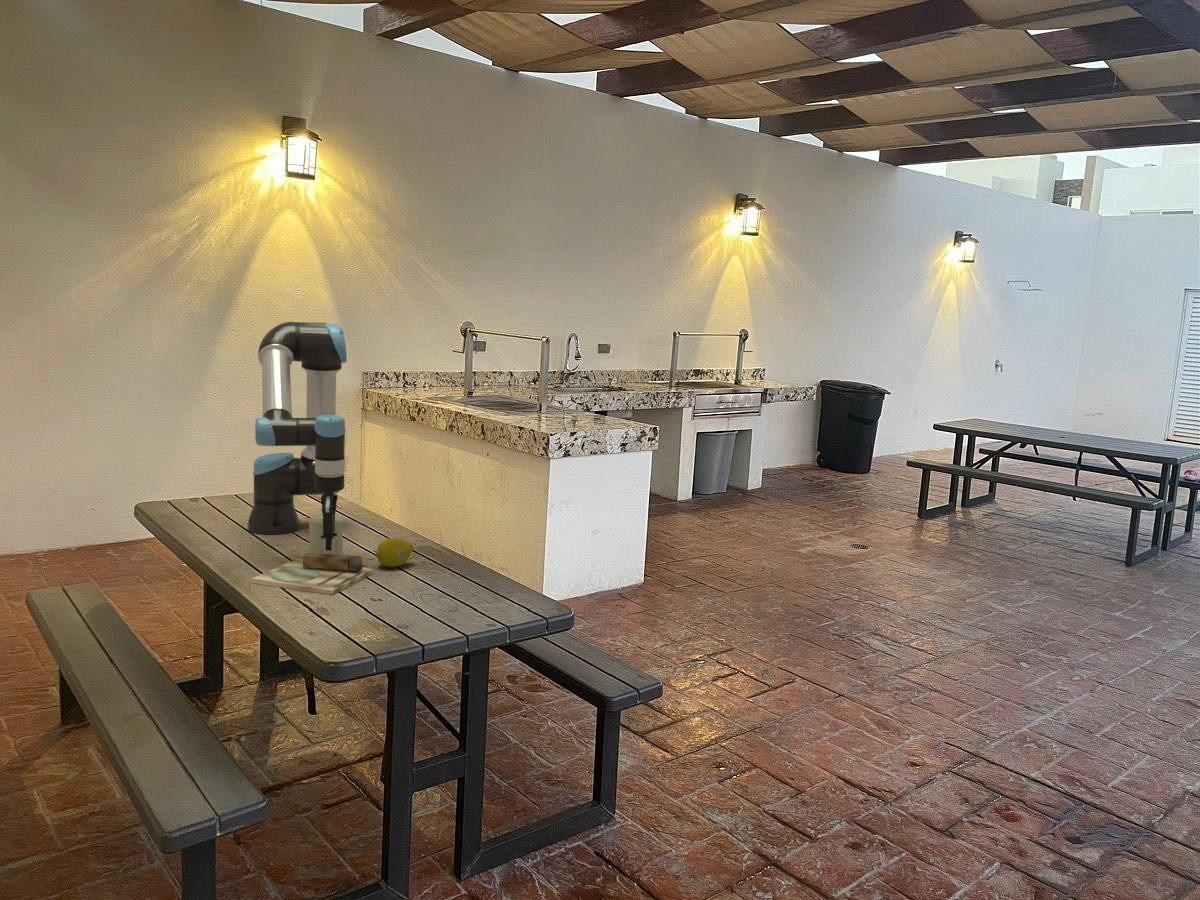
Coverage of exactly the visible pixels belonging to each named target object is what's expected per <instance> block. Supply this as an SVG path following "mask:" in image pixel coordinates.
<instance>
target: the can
mask: <svg viewBox="0 0 1200 900" xmlns="http://www.w3.org/2000/svg"><path fill="white" fill-rule="evenodd" d="M308 523H309V524H308V532H309V533H308V534H309V537H308V539H309V540H308V541H309V542H308V543H309V544H308V545H309V547H308V548H309V549H308V551H309V552H308V553H316V554H323V538H321V535H323V515H317V516H313V517H309V519H308ZM343 525H344V519H343V517H341V516H337V515H335V532H334V533H337V536H334V555H344V554H343V533H344V532H343V530H344V529H343V528H344V527H343Z"/></svg>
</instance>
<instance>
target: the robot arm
mask: <svg viewBox="0 0 1200 900" xmlns="http://www.w3.org/2000/svg"><path fill="white" fill-rule="evenodd" d="M257 352H258V353H257V354H258V356H257V357H258V362H259V364H260V365H261V371H262V374H261V378H262V379H261V381H262V382H261V383H262V385H261V386H262V389H261V390H262V394H261V395H262V396H261V397H262V417H257V418H255V420H254V421H255V422H254V423H255V424H254V427H255V429H254V430H255V431H254V432H255V435H254V436H255V437H254V439H255V440H254V441H255V444H256V445H258V446H262V447H263V446H265V447H288V446H289V447H295V446H300V447H304V449H302V451H301V453H300V457H295V456H294V454H293V453H292V452H274V453H269V454H265V455H262V456H259V457H257V458H256V459H255V460H254V461H253V472H252V475H253V505H252V509H251V511H250V515H249V517H248V521H247V531H249V532H250V533H254V534H258V535H260V534H261V535H282V534H283V535H284V534H288V533H293V532H295V531H298V530H299V529H300V519H299V517H298V514H297V511H296V507H295V503H294V496H318V495H319V496H321V497H320V504H321V513H322V516H323V535H321V538H323V554H332V555H334V536H337V533H334V532H335V516H336V512H337V503H338V498H339V497H338V493H340V491H342V490H344V489H345V474H346V473H345V470H346V459H345V444H346V443H345V442H346V424H345V423H346V420H345V418H344V417H343V416H341V415H337V414H336V409H337V408H336V405H337V374H338V373H339V372H340V371H341V370H342V368H343V367H342V365H343V364H345V363H347V362H348V359H347V358H348V355H347V346H346V339H345V334H344V329H343V327H342V326H341V325H340V324H337V323H329V322H308V321H307V322H304V321H302V322H300V321H297V322H295V321H286V322H281V323H280V324H278V325H276V326H274V327H272V328H271V329H270V330H269V331H268V332H267V333H266V334H265V335H264V337H263V338H262V340H261V342H260V343H259V346H258V351H257ZM293 362H300V363H301V369H302V370H303V371H304V372H305V373H306V416H305V417H293V410H292V409H293V405H292V384H291V383H292V382H291V381H292V380H291V379H292V378H291V366H292V364H293Z"/></svg>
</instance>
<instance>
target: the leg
mask: <svg viewBox="0 0 1200 900" xmlns="http://www.w3.org/2000/svg"><path fill="white" fill-rule="evenodd" d="M302 559H303V567H311V568H326V569H341V570H348V569H349V570H352V571H358V570H361V569H362V568H363V556H360V555H345V554H343V555H332V554H316V553H309V552H306V553H305V554H304V555H302Z"/></svg>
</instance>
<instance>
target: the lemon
mask: <svg viewBox="0 0 1200 900" xmlns="http://www.w3.org/2000/svg"><path fill="white" fill-rule="evenodd" d="M413 550H414V546H413V544H412V543H410V542H409V541H407V540H405V539H403V538H399V537H398V538H397V537H391V538H386V539H384V540H383V541H381V543H379V544H378V546H377V549H376V552H375V554H374V555H375V557H376V558H377V561H378V562H379V564H380V565H381V566H382V567H385V568H390V569H391V568H397V567H400V566H403V564H405V563H406V562H407V561H409V558H410V557H411V555H412V553H413Z"/></svg>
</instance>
